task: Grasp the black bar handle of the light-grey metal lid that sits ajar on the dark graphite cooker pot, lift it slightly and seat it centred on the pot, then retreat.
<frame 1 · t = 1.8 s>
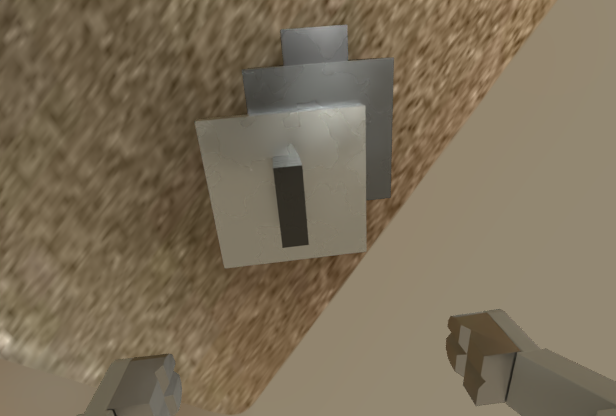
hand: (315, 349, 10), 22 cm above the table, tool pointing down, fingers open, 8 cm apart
lid: (288, 188, 23), point 8 cm above the table, touching pot
pot: (309, 120, 29), on the table
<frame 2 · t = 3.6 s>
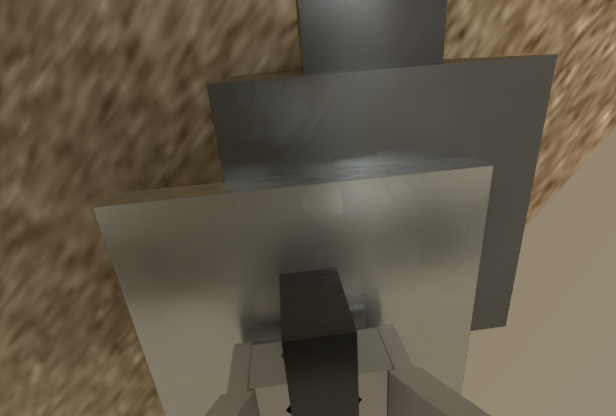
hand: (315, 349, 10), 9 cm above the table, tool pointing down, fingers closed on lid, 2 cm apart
lid: (310, 318, 11), point 8 cm above the table, touching gripper, pot
pot: (338, 161, 18), on the table
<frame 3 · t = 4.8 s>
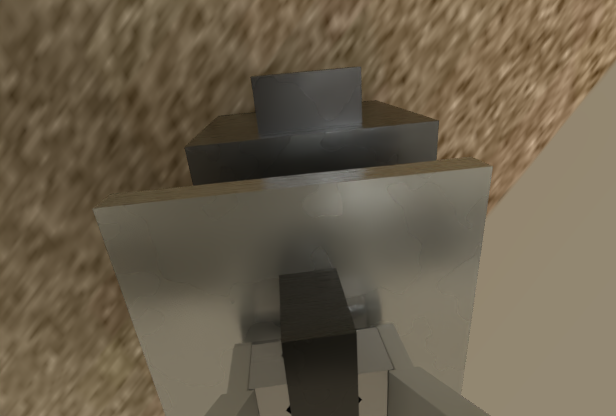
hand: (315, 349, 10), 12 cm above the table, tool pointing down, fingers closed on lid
lid: (310, 318, 11), point 11 cm above the table, touching gripper
pot: (305, 183, 21), on the table
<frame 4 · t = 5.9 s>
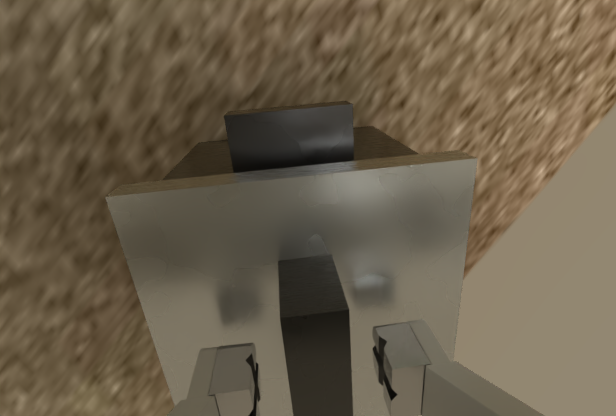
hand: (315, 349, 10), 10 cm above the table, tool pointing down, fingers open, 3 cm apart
lid: (308, 304, 12), point 8 cm above the table, touching pot
pot: (294, 213, 19), on the table
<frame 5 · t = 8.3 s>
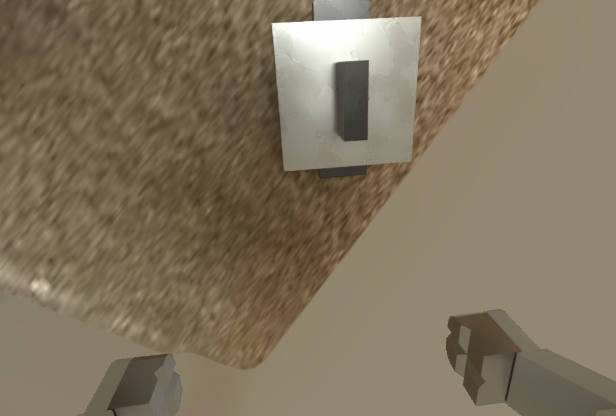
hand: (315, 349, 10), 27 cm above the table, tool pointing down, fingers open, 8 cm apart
lid: (345, 97, 25), point 8 cm above the table, touching pot
pot: (329, 90, 33), on the table
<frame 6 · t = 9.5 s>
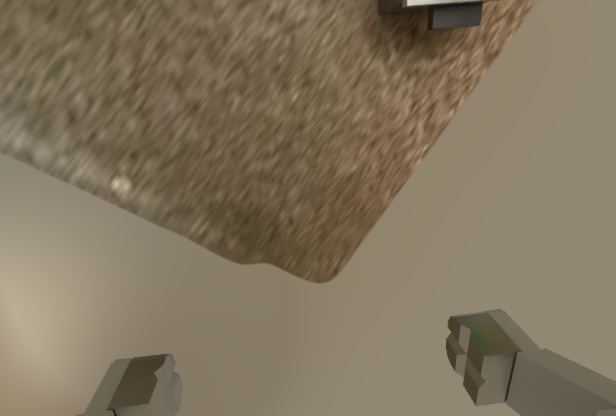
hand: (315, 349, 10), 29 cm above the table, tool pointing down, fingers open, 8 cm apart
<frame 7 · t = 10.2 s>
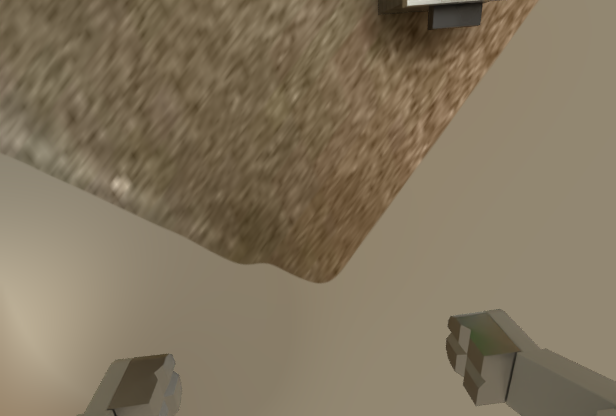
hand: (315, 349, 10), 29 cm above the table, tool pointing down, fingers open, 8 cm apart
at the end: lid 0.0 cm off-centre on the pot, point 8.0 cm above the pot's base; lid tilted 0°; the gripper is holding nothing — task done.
